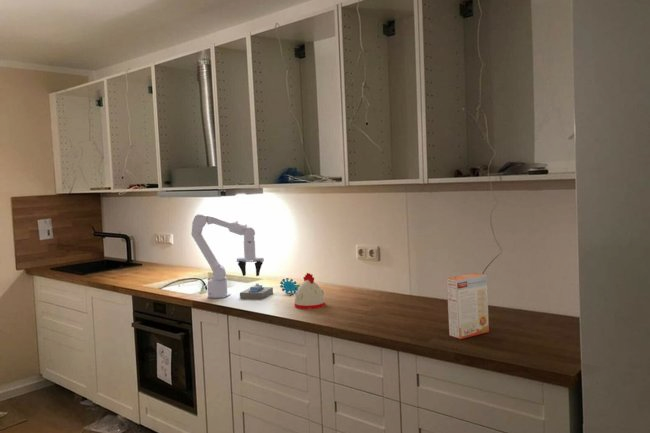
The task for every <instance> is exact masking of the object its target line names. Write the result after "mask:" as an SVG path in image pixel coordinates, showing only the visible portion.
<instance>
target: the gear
mask: <svg viewBox="0 0 650 433" xmlns="http://www.w3.org/2000/svg"><path fill="white" fill-rule="evenodd" d="M279 284H280V286H279V287H280V288H281V291H282V292H285V294H290V295H293V294H294V295H295V292H297V290H298V288H299V287H300V285H301V284H297V281H296V280H295V281H294V279H292V278H290V280H289V278H288V277H286V278H282V279H281V281H280V283H279Z"/></svg>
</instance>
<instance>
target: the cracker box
mask: <svg viewBox="0 0 650 433" xmlns="http://www.w3.org/2000/svg"><path fill="white" fill-rule="evenodd" d="M446 291H447V292H446V293H447V311H448V313H447V314H448V333H449V337H453V338H455V339H459V340H463V339H468V338H470V337H471V338H472V337H475V336H479V335H483V334H487V333H489V332H490V328H489V327H490V325H489V300H488V297H489V296H488V275H487V274H482V273H478V272H476V273H475V272H474V273H469V274H464V275H457V276H451V277H447V278H446Z"/></svg>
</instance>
